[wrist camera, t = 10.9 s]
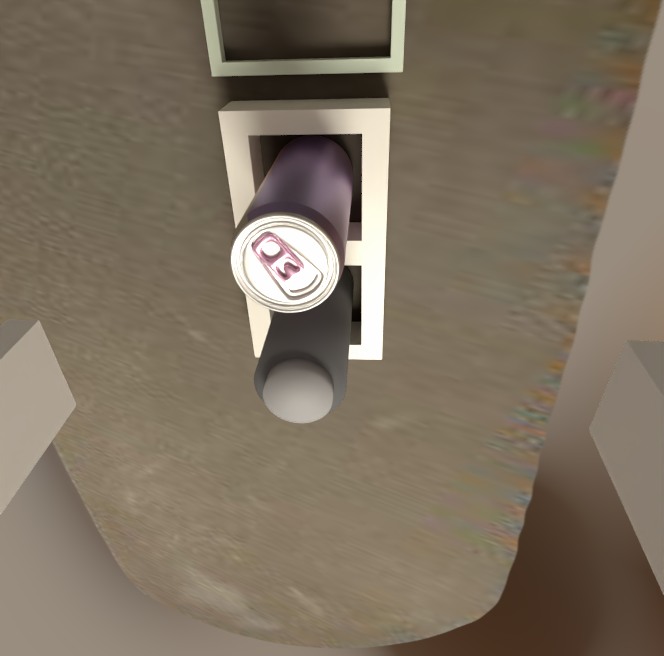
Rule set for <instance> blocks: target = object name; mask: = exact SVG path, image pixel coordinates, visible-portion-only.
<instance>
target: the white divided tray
mask: <svg viewBox="0 0 664 656" xmlns="http://www.w3.org/2000/svg"><path fill="white" fill-rule="evenodd" d="M218 113H219V120H220V127H221V133H222V140H223V147H224V153H225V160H226V167H227V173H228V180H229V187H230V193H231V200H232V206H233V213H234V220H235V226H236V227H237V226H238V224H239V222H240V220H241V219H242V217H243V215H244V213H245V212H246V210H247V208H248V206H249V205H250V203H251V201H252V199H253V198H254V196H255V194H256V192H257V191H258V189H259V187H260V185H261V184H262V182H263V180H264V171H263V162H262V153H261V144H260V135H309V134H362V222H349V227H348V236H347V245H346V254H345V263H344V265H362V322H351V331H350V345H349V358H348V359H374V360H382V341H383V311H384V281H385V252H386V222H387V192H388V162H389V132H390V102H389V98H357V99H307V100H257V101H231V102H229V103H228V104H227V105H226V106H224V107H223V108H222V109H221V110H219V111H218ZM246 300H247V306H248V313H249V319H250V326H251V333H252V339H253V346H254V353H255V357H260V355H261V352H262V349H263V345H264V342H265V339H266V336H267V333H268V329H269V326H270V323H271V320H272V316H273V313H274V311H273V310H270V309H267V308H265V307H262V306H260V305H259V304H257V303H255V302H254V301H252V300H251V299H250V298H249V297H248V296H247V295H246Z"/></svg>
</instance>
